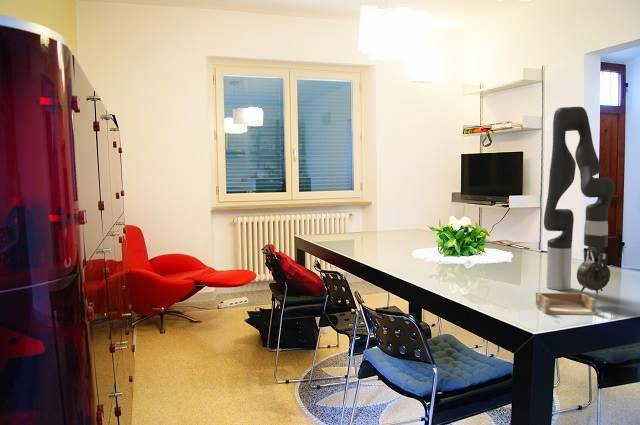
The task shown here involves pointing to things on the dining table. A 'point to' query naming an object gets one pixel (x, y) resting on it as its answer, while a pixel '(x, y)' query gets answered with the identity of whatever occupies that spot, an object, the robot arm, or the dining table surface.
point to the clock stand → (565, 303)
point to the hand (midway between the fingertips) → (594, 278)
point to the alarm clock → (591, 276)
